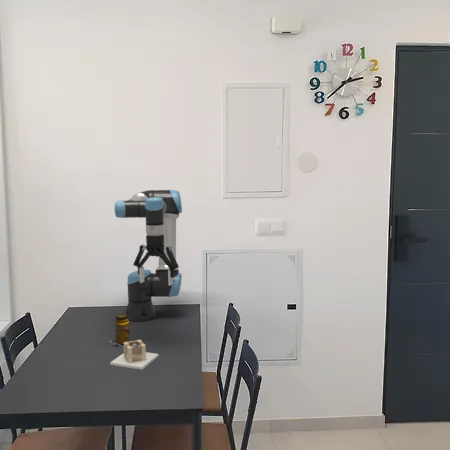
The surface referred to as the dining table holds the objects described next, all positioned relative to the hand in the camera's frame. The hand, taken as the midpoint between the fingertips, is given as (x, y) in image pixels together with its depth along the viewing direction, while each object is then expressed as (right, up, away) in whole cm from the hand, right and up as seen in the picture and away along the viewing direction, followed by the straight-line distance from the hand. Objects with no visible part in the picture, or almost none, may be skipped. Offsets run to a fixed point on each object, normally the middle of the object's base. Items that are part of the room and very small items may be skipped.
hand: (156, 283), depth 225 cm
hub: (-7, -29, -15) cm, 33 cm away
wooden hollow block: (-7, -28, -15) cm, 33 cm away
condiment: (-16, -27, +6) cm, 32 cm away
